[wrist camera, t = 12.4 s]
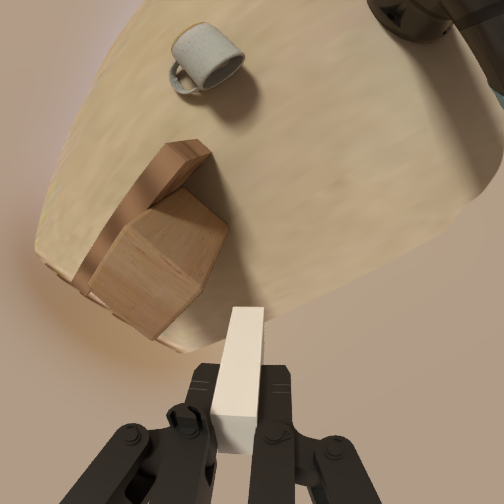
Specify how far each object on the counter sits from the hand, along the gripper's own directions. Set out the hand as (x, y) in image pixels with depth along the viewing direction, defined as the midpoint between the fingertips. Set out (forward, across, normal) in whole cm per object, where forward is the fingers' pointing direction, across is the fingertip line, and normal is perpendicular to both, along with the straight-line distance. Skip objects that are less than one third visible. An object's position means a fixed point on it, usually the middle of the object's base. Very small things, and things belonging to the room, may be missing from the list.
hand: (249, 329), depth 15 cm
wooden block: (+33, -12, -5) cm, 35 cm away
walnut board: (+32, -17, -1) cm, 37 cm away
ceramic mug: (+33, -8, +20) cm, 39 cm away
